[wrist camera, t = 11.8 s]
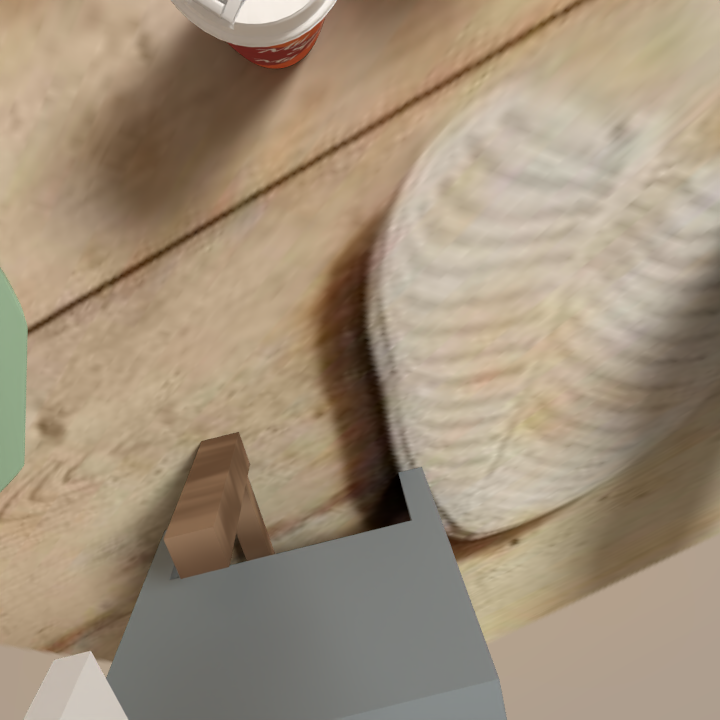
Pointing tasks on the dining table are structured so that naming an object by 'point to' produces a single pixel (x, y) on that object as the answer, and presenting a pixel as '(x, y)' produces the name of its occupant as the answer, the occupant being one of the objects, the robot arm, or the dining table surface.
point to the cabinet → (314, 633)
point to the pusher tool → (216, 511)
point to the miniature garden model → (12, 383)
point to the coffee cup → (261, 26)
